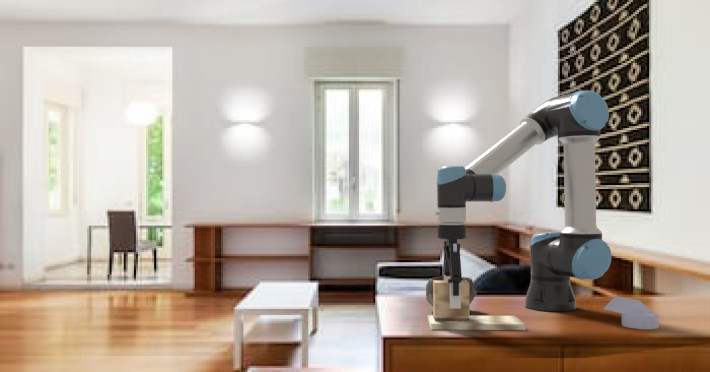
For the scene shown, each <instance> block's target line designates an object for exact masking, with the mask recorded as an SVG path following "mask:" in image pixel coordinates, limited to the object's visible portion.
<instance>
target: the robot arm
mask: <svg viewBox="0 0 710 372" xmlns="http://www.w3.org/2000/svg"><path fill="white" fill-rule="evenodd" d="M609 117H610V112H609V107H608V104H607V103H606V100H605V99H604V98H603V97H602V95H600V94H599V93H597V92H596V91H592V90H581V91H575V92H573V93H568V94H564V95H561V96H560V95H559V96H555V97H552V98H550V99H548V100H546V101H544V102H543V103H541V104H540V105H539V106H537V107H536V108H535V109H533V110H532V111H531V112H529V113H528V114H527V115H526V116H524V117H523V118H522V119H521V120H520V122H519V125H518V126H517V127H516V128H514V129H513V130H512V131H511V132H509V133H508V134H506V136H504V137H503V138H502V139H500V140H499V141H498V142H497V143H495V144H494V145H493V146H492V147H490V148H489V149H488V150H486V151H485V152H484V153H482V154H481V155H480V156H479V157H477V158H476V159H475V160H473V161H472V162H471V163H470V164H469V165H467V166H466V167H464V166H463V165H461V166H460V165H445V166H440V167H438V169H437V174H436V175H437V176H436V188H437V189H436V193H437V196H436V197H437V201H436V202H437V210H436V211H435V212H434V213H435V214H434V215H436V216H437V223H439V224H438V225H437V227H436V228H437V230H436V231H437V238H438V239H440V240H444V241H443V244H444V245H443V264H442V265H443V267H442V272H443V276H444V280H448V283H450V308H461V281H462V277H463V276H462V263H461V262H462V261H461V244H460V243H458V240H465V239H466V238H467V226H466V224H465V223H467V205H466V203H470V202H474V203H477V202H478V203H480V202H481V203H482V202H483V203H485V202H486V203H487V202H488V203H489V202H490V203H493V202H500V201H502V200H503V199H504V198H505V196H506V192H507V183H506V180H505V178H504V177H503V176H502V175H500V173H501V172H503V171H504V170H506V169H507V168H508V167H509V166H510V165H512V164H513V163H514V162H515V161H517V160H518V159H519V158H520V157H521V156H523V155H524V154H525V153H527V152H528V151H530V149H532V148H533V147H534V146H535V145H542V144H543V143H544V142H545V141H547V140H550V139H551V138H554V137H557V139H558V141H559V142H560V143H561V144H562V145H563V173H564V174H563V177H564V178H563V184H564V193H563V194H564V227H562V229H560V231H557V232H556V231H555V232H543V233H535V234H533V235H532V236H531V238H530V246H529V249H530V282H529V287H528V290H527V292H526V296H525V300H524V303H525V305H524V306H525V308H528V309H531V310H537V311H545V312H546V311H547V312H548V311H549V312H568V311H575V310H577V301H576V297H575V294H574V290H573V288H572V285H571V278H576V279H579V280H589V281H590V280H596V279H597V280H598V278H601V277H603V275H604V274H605V273H606V272H607V271H608V270H609V268H610V266H611V262H612V251H611V248H610V246H608V243H607V242H606V241H605V240H603V232H602V230H601V229H599V228H598V227H597V198H596V196H597V194H596V190H597V188H596V187H597V186H596V183H597V182H596V143H597V142H598V141H599V140H600V138H601V130H602V129H603V128H604V127H606V124H607V123H608V121H609Z"/></svg>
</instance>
